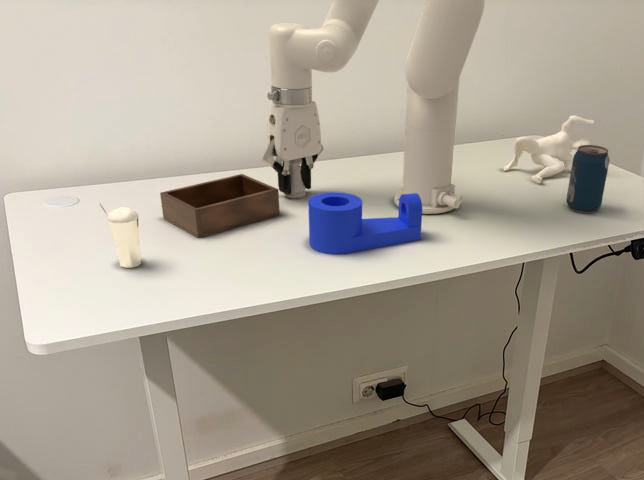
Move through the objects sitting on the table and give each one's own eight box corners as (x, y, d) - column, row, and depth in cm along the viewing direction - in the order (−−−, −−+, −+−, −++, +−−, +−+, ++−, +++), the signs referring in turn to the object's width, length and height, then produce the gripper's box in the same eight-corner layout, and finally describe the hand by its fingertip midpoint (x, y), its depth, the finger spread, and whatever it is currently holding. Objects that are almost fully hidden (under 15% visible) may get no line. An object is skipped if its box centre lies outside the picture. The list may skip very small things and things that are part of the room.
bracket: (317, 256, 122) (316, 213, 118) (303, 236, 130) (302, 194, 126) (425, 244, 129) (428, 202, 125) (406, 225, 136) (408, 185, 132)
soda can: (606, 209, 148) (618, 149, 142) (588, 217, 144) (599, 156, 137) (576, 200, 152) (586, 142, 146) (558, 207, 148) (568, 148, 141)
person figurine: (533, 134, 153) (594, 110, 161) (495, 133, 164) (554, 110, 171) (542, 194, 159) (600, 168, 166) (504, 189, 169) (561, 165, 177)
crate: (243, 198, 145) (242, 173, 142) (279, 214, 138) (278, 189, 135) (163, 219, 134) (159, 192, 131) (198, 237, 127) (195, 210, 124)
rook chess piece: (308, 192, 149) (307, 153, 145) (303, 199, 146) (302, 159, 141) (286, 190, 150) (285, 151, 145) (281, 198, 146) (279, 158, 142)
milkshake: (114, 258, 119) (103, 198, 113) (148, 258, 119) (139, 198, 114) (107, 269, 115) (95, 208, 110) (142, 269, 115) (132, 209, 110)
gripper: (267, 105, 130) (272, 204, 140) (339, 93, 140) (339, 186, 150) (242, 97, 134) (249, 193, 144) (314, 86, 145) (315, 177, 154)
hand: (295, 189), depth 147 cm, fingers closed on rook chess piece, 4 cm apart
